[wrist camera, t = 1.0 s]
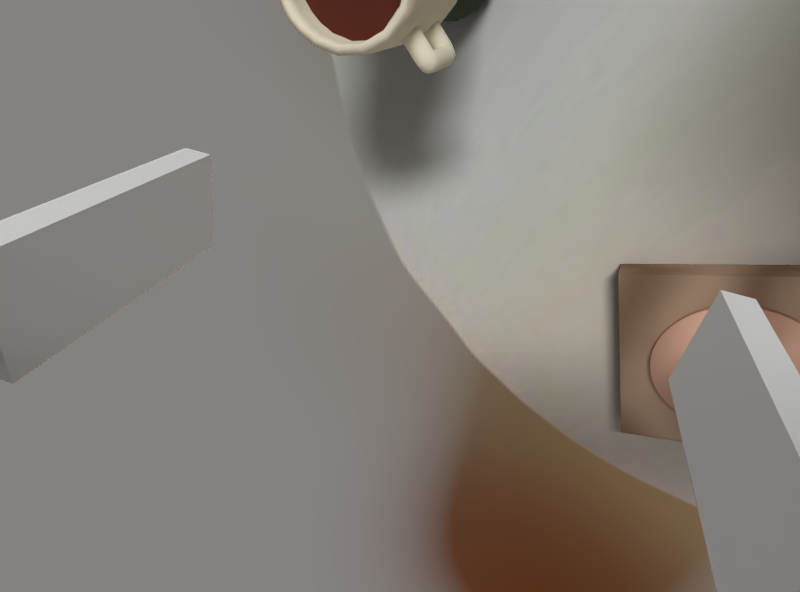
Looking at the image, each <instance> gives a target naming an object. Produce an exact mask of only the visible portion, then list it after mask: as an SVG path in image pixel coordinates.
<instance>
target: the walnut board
mask: <svg viewBox="0 0 800 592" xmlns="http://www.w3.org/2000/svg"><path fill="white" fill-rule="evenodd" d="M720 290H723V291H727V292H731V293H735V294H738V295H742V296H746V297H750V298H753V299H756V300H757V302H758V304H759V305H760V307H761V309H762V311H763V312H764V314H765V316H766V317H767V319H768V321H769V323H770V324H771V326H772V328H773V330H774V331H775V333H776V335H777V337H778V338H779V340H780V342H781V344H782V345H783V347H784V349H785V350H786V352H787V354H788V356H789V357H790V359H791V361H792V363H793V364H794V366H795V368H796V370H797V371H798V373H799V375H800V265H689V264H620V269H619V273H618V292H619V348H620V403H621V432H624V433H631V434H637V435H644V436H650V437H657V438H664V439H670V440H677V441H682V437H681V433H680V429H679V424H678V420H677V416H676V411H675V407H674V403H673V398H672V394H671V389H670V385H669V381H668V379H669V377H670V376H671V374H672V372H673V370H674V369H675V367H676V365H677V364H678V362H679V360H680V358H681V357H682V355H683V353H684V351H685V350H686V348H687V346H688V345H689V343H690V341H691V339H692V338H693V336H694V334H695V333H696V331H697V329H698V327H699V326H700V324H701V322H702V320H703V319H704V317H705V315H706V314H707V312H708V310H709V308H710V307H711V305H712V303H713V301H714V300H715V298H716V296H717V295H718V293H719V291H720Z"/></svg>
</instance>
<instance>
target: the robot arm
mask: <svg viewBox="0 0 800 592" xmlns="http://www.w3.org/2000/svg"><path fill="white" fill-rule="evenodd" d="M212 203H213V202H212V181H211V159H210V154H206V153H202V152H198V151H195V150H191V149H187V148H184V149H182V150H179V151H177V152H174V153H172V154H169V155H167V156H164V157H161V158H159V159H156V160H154V161H151V162H149V163H146V164H144V165H141V166H138V167H136V168H133V169H131V170H128V171H126V172H123V173H121V174H118V175H115V176H113V177H110V178H108V179H105V180H103V181H100V182H97V183H95V184H92V185H90V186H87V187H85V188H82V189H80V190H77V191H75V192H72V193H69V194H67V195H64V196H62V197H59V198H57V199H54V200H52V201H49V202H47V203H44V204H41V205H39V206H36V207H34V208H31V209H29V210H26V211H24V212H21V213H18V214H16V215H13V216H11V217H8V218H6V219H3V220H1V221H0V379H2V380H5V381H7V382H10V383H15V382H16V381H17V380H19V379H20V378H22V377H23V376H25V375H26V374H28V373H29V372H31V371H32V370H34V369H35V368H36V367H38V366H39V365H41V364H42V363H44V362H45V361H47V360H48V359H50V358H51V357H52V356H54V355H55V354H57V353H58V352H60V351H61V350H63V349H64V348H65V347H67V346H68V345H70V344H71V343H73V342H74V341H75V340H77V339H79V338H80V337H81V336H83V335H84V334H86V333H87V332H89V331H90V330H91V329H93V328H94V327H96V326H97V325H99V324H100V323H102V322H103V321H105V320H106V319H107V318H109V317H110V316H112V315H113V314H115V313H116V312H118V311H119V310H121V309H122V308H123V307H125V306H126V305H128V304H129V303H131V302H132V301H134V300H135V299H137V298H138V297H139V296H141V295H142V294H144V293H145V292H147V291H148V290H149V289H151V288H153V287H154V286H155V285H157V284H158V283H159V282H161V281H163V280H164V279H166V278H167V277H168V276H170V275H171V274H172V273H174V272H175V271H177V270H179V269H180V268H181V267H183V266H185V265H186V264H187V263H189V262H190V261H192V260H193V259H195V258H196V257H198V256H199V255H200V254H202V253H203V252H205V251H206V250H208V249H209V248H211V247H212V246H214V223H213V204H212ZM668 381H669V385H670V389H671V394H672V398H673V403H674V407H675V411H676V416H677V420H678V424H679V429H680V433H681V437H682V442H683V446H684V451H685V455H686V459H687V464H688V468H689V472H690V477H691V481H692V485H693V490H694V494H695V499H696V503H697V507H698V512H699V516H700V520H701V525H702V529H703V533H704V538H705V542H706V547H707V551H708V555H709V560H710V564H711V568H712V572H713V577H714V581H715V586H716V590H717V592H800V375H799V373H798V371H797V370H796V368H795V366H794V364H793V363H792V361H791V359H790V357H789V356H788V354H787V352H786V350H785V349H784V347H783V345H782V344H781V342H780V340H779V338H778V337H777V335H776V333H775V331H774V330H773V328H772V326H771V324H770V323H769V321H768V319H767V317H766V316H765V314H764V312H763V311H762V309H761V307H760V305H759V304H758V302H757V300H756V299H753V298H750V297H746V296H742V295H738V294H735V293H731V292H727V291H723V290H720V291H719V293H718V295H717V296H716V298H715V300H714V301H713V303H712V305H711V307H710V308H709V310H708V312H707V314H706V315H705V317H704V319H703V320H702V322H701V324H700V326H699V327H698V329H697V331H696V333H695V334H694V336H693V338H692V339H691V341H690V343H689V345H688V346H687V348H686V350H685V351H684V353H683V355H682V357H681V358H680V360H679V362H678V364H677V365H676V367H675V369H674V370H673V372H672V374H671V376H670V377H669V379H668Z"/></svg>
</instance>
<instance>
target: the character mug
mask: <svg viewBox="0 0 800 592" xmlns="http://www.w3.org/2000/svg"><path fill="white" fill-rule="evenodd" d="M279 1H280V4H281V6H282V8H283V10H284V12H285V14H286V15H287V17H288V19H289V21H290V22H291V24H292V25H293V26H294V27H295V28H296V30H297V31H298V32H299V33H300V34H301V35H302V36H303V37H304V38H306V39H307V40H308V41H309V42H310V43H311V44H313V45H314V46H316V47H318V48H321V49H323V50H326V51H328V52H331V53H333V54H336V55H364V54H372V53H375V52H379V51H383V50H387V49H391V48H394V47H397V46H401V45H403V44H404V46H405V47H406V49H407V50H408V52H409V54H410V55H411V57H412V58H413V60H414V61H415V63H416V64H417V66H418V67H419V68H420V69H421V70H422V72H423V73H427V74H429V73H434V72H437V71H439V70H441V69H444V68H446V67H448V66H450V65H452V63H453V61H454V59H455V56H456V53H455V50H454V48H453V45H452V43H451V41H450V40H449V38H448V36H447V35H446V33H445V32H444V30H443V28H442V27H441V25H440V24H441V23H442V21H457V20H459V19H461V18H463V17H465V16H467V15H468V14H470V13H472V12H474V11H476V10H477V9H478V7H479V6H480V5H481V3H482V2H483V1H484V0H279Z"/></svg>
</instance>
